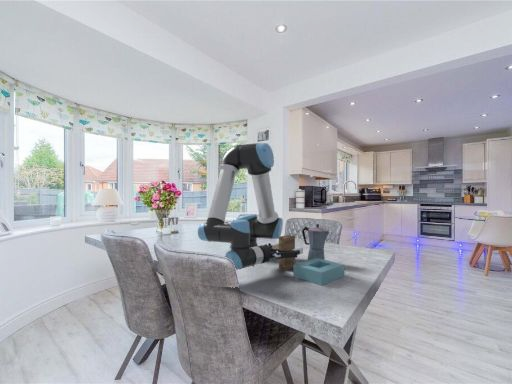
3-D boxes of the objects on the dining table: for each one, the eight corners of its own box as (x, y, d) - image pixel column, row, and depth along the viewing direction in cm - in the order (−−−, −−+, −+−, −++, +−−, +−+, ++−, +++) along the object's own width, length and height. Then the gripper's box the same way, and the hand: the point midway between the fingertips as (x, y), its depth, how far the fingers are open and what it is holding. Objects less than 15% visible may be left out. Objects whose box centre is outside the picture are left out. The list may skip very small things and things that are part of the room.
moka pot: (326, 268, 116) (326, 226, 116) (297, 262, 125) (297, 223, 125) (333, 263, 123) (333, 224, 123) (305, 258, 132) (305, 222, 133)
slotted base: (293, 276, 104) (293, 264, 104) (316, 268, 115) (316, 257, 115) (321, 285, 93) (321, 272, 93) (344, 276, 104) (344, 264, 104)
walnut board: (278, 268, 115) (278, 236, 115) (288, 265, 120) (288, 235, 120) (285, 270, 112) (285, 237, 112) (294, 267, 117) (294, 236, 117)
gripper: (240, 258, 114) (273, 251, 127) (279, 270, 95) (312, 261, 109) (240, 242, 114) (273, 236, 128) (279, 251, 95) (312, 244, 109)
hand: (291, 248), depth 118 cm, fingers open, 13 cm apart
